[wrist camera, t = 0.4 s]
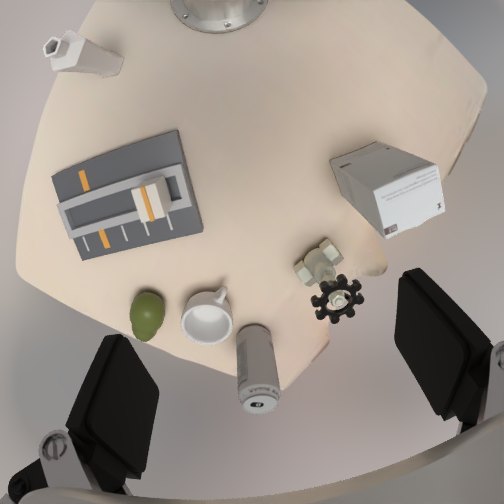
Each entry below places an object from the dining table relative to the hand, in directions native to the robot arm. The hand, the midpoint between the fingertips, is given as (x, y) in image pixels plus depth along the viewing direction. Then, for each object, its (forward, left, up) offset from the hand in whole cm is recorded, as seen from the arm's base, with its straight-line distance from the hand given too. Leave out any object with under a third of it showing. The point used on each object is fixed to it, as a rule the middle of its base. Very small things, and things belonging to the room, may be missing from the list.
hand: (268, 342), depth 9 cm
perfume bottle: (-19, -14, -32) cm, 40 cm away
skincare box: (+3, +16, -32) cm, 36 cm away
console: (0, -17, -32) cm, 36 cm away
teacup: (+19, -9, -32) cm, 38 cm away
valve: (+15, +8, -32) cm, 36 cm away
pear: (+19, -20, -32) cm, 42 cm away
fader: (0, -11, -30) cm, 32 cm away
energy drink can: (+28, -4, -32) cm, 43 cm away
